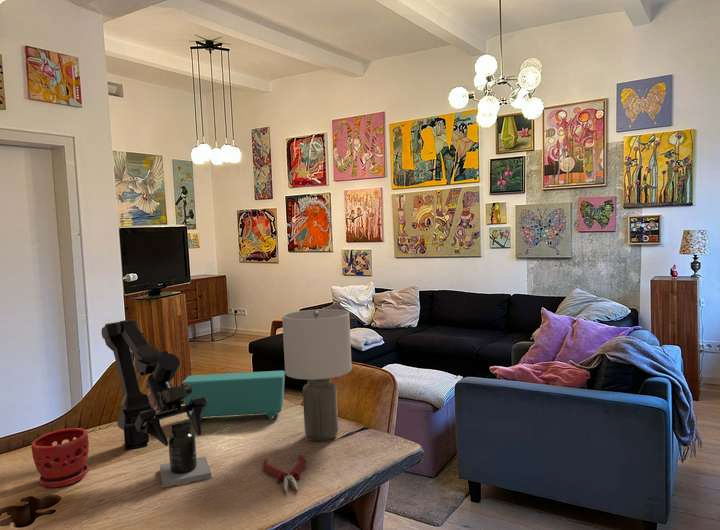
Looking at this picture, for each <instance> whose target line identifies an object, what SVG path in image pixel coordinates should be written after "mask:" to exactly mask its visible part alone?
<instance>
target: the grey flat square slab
mask: <svg viewBox="0 0 720 530" xmlns="http://www.w3.org/2000/svg"><path fill="white" fill-rule="evenodd" d="M196 458H197V466H196V468H195V469H194V470H192V471H190V472H187V473H180V474H177V473H173V472H171V470H170V462H169V463H163V464H159V471H160V477H161V487H162V488H163V487H166V488H169V487H168V486H171V487H173V486H172V485H176V486H179V485H178V484H181V485H184V484H183V483H186V484H188V483H187V482H191V483H195V482H194V481H196V482H200V481H199V480H201V481H204V479H205V480H210V479H212V472H211V468H210V466H209V463H208V459H207V457H206V456H201V457H200V456H199V457H196ZM209 478H210V479H209Z"/></svg>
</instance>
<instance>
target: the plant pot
mask: <svg viewBox="0 0 720 530" xmlns="http://www.w3.org/2000/svg"><path fill="white" fill-rule="evenodd" d="M74 438H75V439H74ZM64 440H65V441H66V440H67V441H68V442H64ZM55 442H56V444H55V445H53V443H55ZM63 442H64V443H63ZM89 443H90V441H89V433H88V431H87V429H85V428H81V427H70V428H63V429H57V430H54V431H51V432H48V433H45V434H42V435H41V436H40V435H39V437H37V438H35V439H34V440H33V441H32V442H31V453H32V459H33V462H34V465H35V468H36V470H37V472H38V473H39V474H40V477H39V482H40V483H41V485H42V486H45V487H49V488H57V487H58V488H59V486H60V487H63V486H64V485H65V486H69V485H68V484H70V485H72V484H74V483H76V482H78V481H79V480H82V479H83V478H85V476H86V475H87V474H88V473H89V470H90V469H89V465H88V464H87V461H88V457H89V452H90V451H89V450H90V449H89V447H90V445H89ZM71 483H72V484H71Z"/></svg>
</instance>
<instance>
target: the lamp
mask: <svg viewBox="0 0 720 530" xmlns="http://www.w3.org/2000/svg"><path fill="white" fill-rule="evenodd" d="M281 317H282V318H281V319H282V336H283V337H282V339H283V354H284V356H283V357H284V371H285V376H287V377H289V378H292V379H295V380H296V379H297V380H307V383H306V384H304V385H303V388H302V405H303V420H304V423H303V424H304V428H303V429H304V435H305V437H306V438H307V439H308V440H309V439H311V440H310V441H312V440H313V442H317V441H319V442H327V440H328V441H331V440H333V439H335V438H336V436H337V435H338V432H339V418H338V417H339V416H338V415H339V414H338V397H337V396H338V395H337V392H338V391H337V390H338V389H337V386H336V384H335V382H332V381H331V379H333V378H338V377H342V376H344V375H347V374H349V373H351V371H352V369H353V368H352V366H353V365H352V346H351V345H352V342H351V326H350V325H351V324H350V311H349V310H346V309H345V310H344V309H334V308H333V309H332V308H331V309H329V308H327V309H325V308H322V309H317V308H316V309H306V310H298V311H292V312H286V313H285V314H282V316H281Z"/></svg>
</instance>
